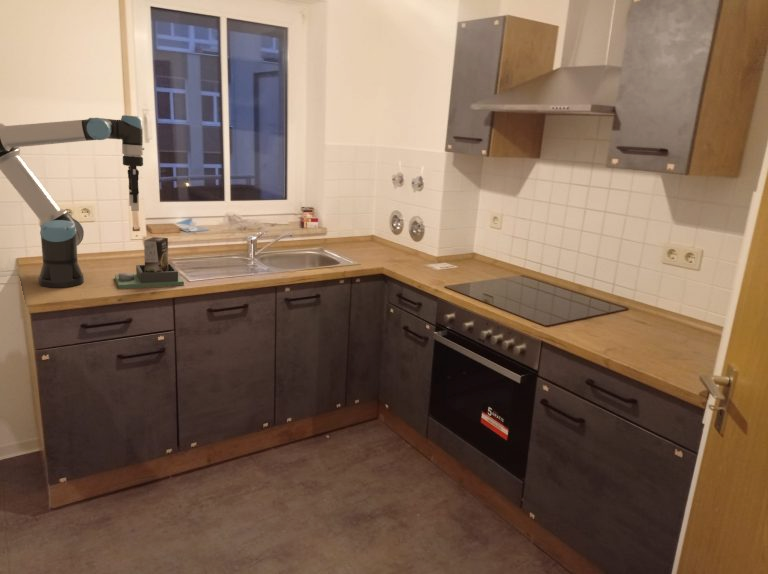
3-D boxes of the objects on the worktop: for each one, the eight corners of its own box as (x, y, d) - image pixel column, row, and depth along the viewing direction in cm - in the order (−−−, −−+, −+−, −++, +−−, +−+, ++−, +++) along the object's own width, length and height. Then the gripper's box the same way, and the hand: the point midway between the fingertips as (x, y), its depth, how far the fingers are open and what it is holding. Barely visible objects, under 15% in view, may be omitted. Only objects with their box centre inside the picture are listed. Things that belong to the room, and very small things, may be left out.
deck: (119, 288, 220) (118, 274, 218) (115, 278, 233) (114, 265, 232) (183, 285, 232) (183, 272, 230) (176, 275, 245) (176, 263, 244)
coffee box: (160, 281, 229) (159, 241, 225) (144, 279, 229) (143, 240, 225) (169, 275, 238) (168, 237, 234) (153, 274, 238) (152, 236, 234)
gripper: (145, 158, 220) (146, 213, 226) (140, 154, 242) (141, 204, 247) (124, 157, 217) (125, 212, 222) (121, 153, 238) (122, 203, 244)
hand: (134, 208), depth 235 cm, fingers open, 13 cm apart
